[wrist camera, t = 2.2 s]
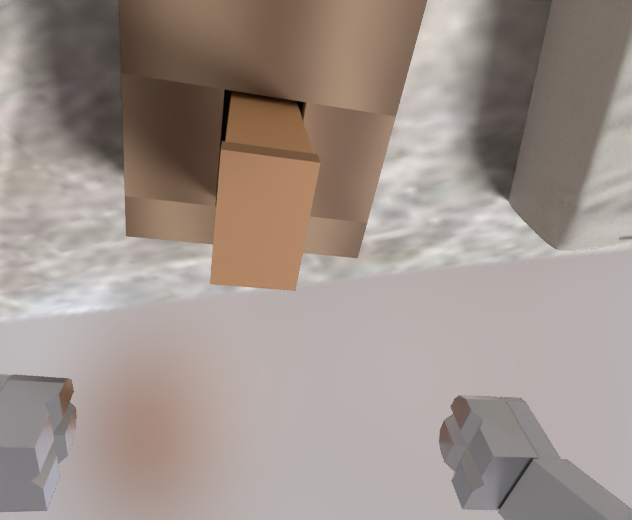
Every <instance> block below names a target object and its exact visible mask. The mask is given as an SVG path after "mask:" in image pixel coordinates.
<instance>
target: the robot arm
mask: <svg viewBox="0 0 632 520" xmlns="http://www.w3.org/2000/svg"><path fill="white" fill-rule="evenodd" d="M73 392H74V390H73V384H72V380H71V379H69V378H55V377H40V376H26V375H5V374H0V512H18V511H19V512H21V511H47V509H48V507H49V504H50V501H51V499H52V496H53V494H54V491H55V489H56V486H57V483H58V481H59V478H60V475H59V468H58V464H59V463H60V462H61V461H62V460H63V459H65V458H66V457H67V456H68V454H69V451H70V448H71V446H72V443H73V439H74V434H75V429H76V408H75V406H74V405H73V404H71V403H70V400H71V397H72V395H73ZM451 409H452V411H453V414H452V415H451V416H449V417H448V418H446V419H445V420H444V422H443V424H442V426H441V429H440V437H439V444H440V449H441V453H442V456H443V459H444V462H445V463H446V464H447V465H448V466H449V467H450V468H451V469H452V470H453V471H454V475H453V478H452V483H453V486H454V488H455V491H456V493H457V496H458V499H459V501H460V503H461V507H462V509H474V510H499V511H498V513H499V514H500V515H501V516H502V517H503V518H504V519H505V520H632V509H631V508H630V507H629V506H627V505H626V504H625V503H623V502H622V501H620V499H618V498H617V497H616V496H614V495H613V494H612V493H610V492H609V491H608V490H606V489H605V488H604V487H603V486H601V485H600V484H598V483H597V482H596V481H595V480H593V479H592V478H591V477H589V476H588V475H587V474H585V473H584V472H583V471H582V470H580V469H579V468H578V467H576V466H575V465H574V464H573V463H571V462H570V461H569V460H565V459H561V458H560V456H559V455H558V453H557V452H556V450H555V448H554V447H553V445H552V443H551V442H550V440H549V439H548V437H547V435H546V434H545V432H544V430H543V429H542V427H541V426H540V424H539V422H538V421H537V419H536V417H535V416H534V414H533V413H532V411H531V409H530V408H529V406H528V405H527V403H526V402H525V401H524V400H523V399H521V398H513V397H489V396H461V395H460V396H458V397H456V398H455V399H454V401H453V403H452V405H451Z"/></svg>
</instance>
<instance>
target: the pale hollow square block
mask: <svg viewBox="0 0 632 520" xmlns="http://www.w3.org/2000/svg"><path fill="white" fill-rule="evenodd" d="M508 201H509V203H510V205H511V207H512V208H513V209H514V210H515V212H516V213H517V214H518V215H519V216H520V217H521V218H522V219H523V220H524V222H525V223H527V224H528V225H529V227H530V228H532V229H533V230H534V231H535V232H536V233H537V234H538V235H539V236H540V237H541V238H542V239H543V240H544V241H545V242H547V243H548V244H549V245H551V246H552V247H554V248H555V249H558V250H582V249H592V248H600V247H606V246H612V245H616V244H621V243H626V242H631V241H632V0H552V2H551V7H550V12H549V17H548V21H547V26H546V31H545V35H544V40H543V44H542V49H541V53H540V58H539V63H538V68H537V72H536V77H535V81H534V86H533V90H532V95H531V100H530V105H529V109H528V114H527V119H526V123H525V128H524V133H523V137H522V142H521V146H520V151H519V155H518V160H517V165H516V169H515V174H514V178H513V182H512V187H511V191H510V195H509V200H508Z"/></svg>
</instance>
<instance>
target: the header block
mask: <svg viewBox="0 0 632 520" xmlns="http://www.w3.org/2000/svg"><path fill="white" fill-rule="evenodd" d="M426 3H427V0H119V24H120V56H121V88H122V119H123V151H124V183H125V215H126V236H130V237H141V238H151V239H162V240H172V241H183V242H193V243H204V244H213V241H214V229H215V216H216V204H217V191H218V179H219V166H220V154H221V145H222V141H225V140H226V132H227V124H228V116H229V108H230V101H231V93H232V91H238V92H244V93H250V94H257V95H263V96H269V97H276V98H282V99H288V100H295V101H297V104H298V107H299V110H300V113H301V116H302V120H303V123H304V126H305V129H306V132H307V135H308V139H309V142H310V145H311V148H312V151H313V154H318V157H319V160H320V168H319V173H318V178H317V183H316V188H315V193H314V198H313V203H312V208H311V213H310V219H309V224H308V229H307V234H306V239H305V244H304V249H303V253H310V254H320V255H331V256H342V257H352V258H358V254H359V251H360V247H361V243H362V240H363V236H364V232H365V229H366V225H367V221H368V217H369V214H370V210H371V206H372V203H373V199H374V195H375V192H376V188H377V184H378V180H379V177H380V173H381V169H382V166H383V162H384V158H385V155H386V151H387V147H388V143H389V140H390V136H391V132H392V129H393V125H394V121H395V118H396V114H397V110H398V106H399V103H400V99H401V95H402V92H403V88H404V84H405V81H406V77H407V73H408V69H409V66H410V62H411V58H412V55H413V51H414V47H415V44H416V40H417V36H418V32H419V29H420V25H421V21H422V18H423V14H424V10H425V7H426Z"/></svg>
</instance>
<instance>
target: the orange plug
mask: <svg viewBox="0 0 632 520" xmlns="http://www.w3.org/2000/svg"><path fill="white" fill-rule="evenodd" d="M319 168H320V160H319V157H318V154H313V151H312V148H311V145H310V142H309V139H308V135H307V132H306V129H305V126H304V123H303V120H302V116H301V113H300V110H299V107H298V104H297V101H295V100H288V99H282V98H276V97H269V96H263V95H257V94H250V93H244V92H238V91H232V93H231V101H230V108H229V116H228V124H227V132H226V140H225V141H222V145H221V154H220V166H219V179H218V191H217V204H216V216H215V229H214V241H213V254H212V266H211V279H210V284H216V285H229V286H242V287H254V288H267V289H280V290H293V291H295V290H296V284H297V279H298V274H299V269H300V264H301V259H302V254H303V249H304V244H305V239H306V234H307V229H308V224H309V219H310V213H311V208H312V203H313V198H314V193H315V188H316V183H317V178H318V173H319Z"/></svg>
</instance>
